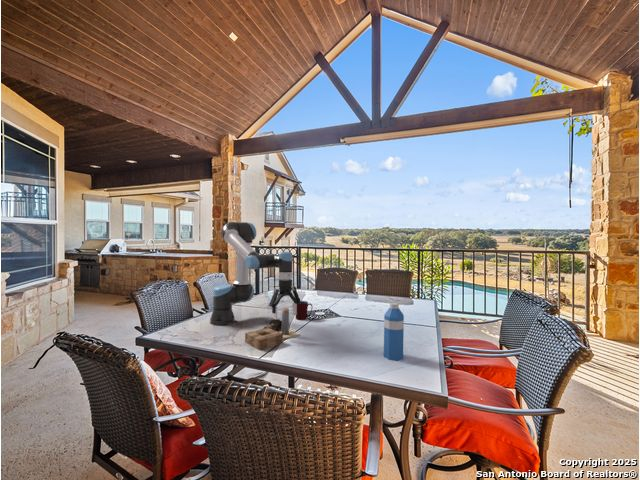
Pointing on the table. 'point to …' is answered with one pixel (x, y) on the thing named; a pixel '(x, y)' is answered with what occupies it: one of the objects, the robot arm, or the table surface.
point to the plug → (285, 321)
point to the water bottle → (393, 333)
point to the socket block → (263, 338)
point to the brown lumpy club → (274, 324)
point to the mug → (302, 310)
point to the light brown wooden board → (290, 335)
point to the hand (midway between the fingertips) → (285, 316)
